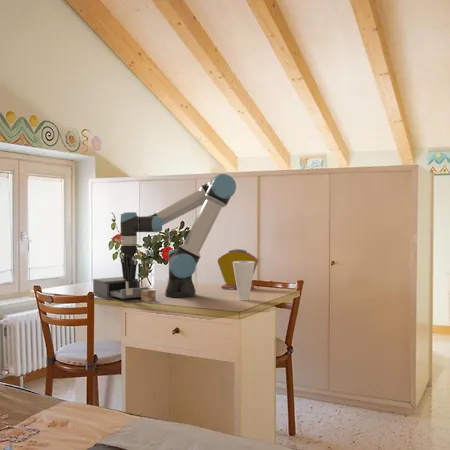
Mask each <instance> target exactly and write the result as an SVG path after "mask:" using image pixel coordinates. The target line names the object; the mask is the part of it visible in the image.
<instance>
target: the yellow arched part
mask: <svg viewBox="0 0 450 450" xmlns="http://www.w3.org/2000/svg"><path fill="white" fill-rule="evenodd" d="M235 261H253V262H255V265H254V272H253V275H254V274H255V271H256V268H257V265H258V258H257V257H256V256H254V255H253V254H251V253H249V252H247V250H246V249H240V248H235V249H231V250H228V252H225V254H224V253H223V255H221V256H220V257H219V258H217V264H218V267H219V270H220V272H221V275H222V278H223V280H224V283H225V284H223V285H221V286H220V289H221V288H234V289H233V290H237V285H236V280H235V274H234V268H233V262H235ZM254 288H255V285H254V284H251V290H252V289H254Z"/></svg>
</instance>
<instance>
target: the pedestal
mask: <svg viewBox="0 0 450 450" xmlns="http://www.w3.org/2000/svg"><path fill="white" fill-rule="evenodd" d="M156 294H157V293H156V289H152V288H151V289H150V288H149V289H147V290H141V297H140V298H141V299H140V301H141V302H145V303H147V302H148V303H150V302H156V301H157V300H156Z"/></svg>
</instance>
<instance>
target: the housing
mask: <svg viewBox="0 0 450 450" xmlns="http://www.w3.org/2000/svg"><path fill="white" fill-rule="evenodd" d="M138 280H139V278H135V280H133V281H132V285H133V288H141V287H140V286H141V284H140V281H138ZM92 282H93V283H92V284H93V285H92V286H93V287H92V288H93V293H94V294H95V295H94V296H95V297H100V298H103V299H116V298H117V297H115V296H111V295H109V291H114V290H121V289H126V281H125V279H123V276H115V277H105V278H104V277H103V278H93V280H92Z"/></svg>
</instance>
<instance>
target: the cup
mask: <svg viewBox="0 0 450 450" xmlns="http://www.w3.org/2000/svg"><path fill="white" fill-rule="evenodd" d="M254 265H255V262H253V261H235V262H233V268H234V274H235V280H236V285H237V289H236V291H237V296H238V297H237V298H238V300H239V299H241V300H247V299H249V300H250V295H251V290H252V289H251V285H253V284H252V283H253V277H254V274H253V272H254V273H255V271H254ZM241 300H240V301H241ZM247 301H248V300H247Z"/></svg>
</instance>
